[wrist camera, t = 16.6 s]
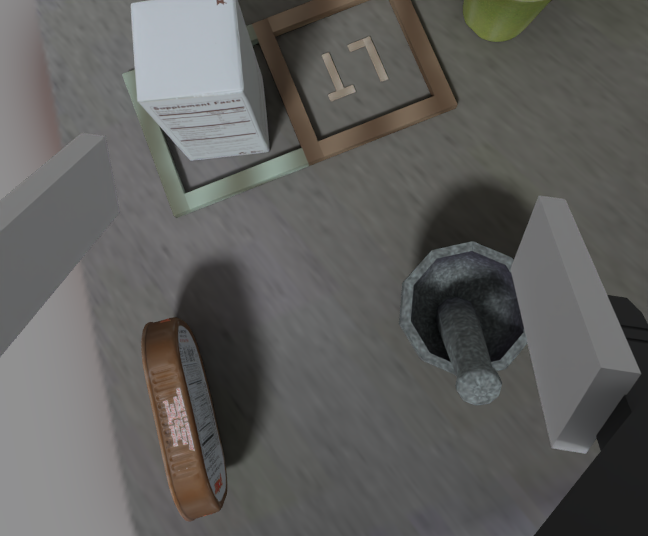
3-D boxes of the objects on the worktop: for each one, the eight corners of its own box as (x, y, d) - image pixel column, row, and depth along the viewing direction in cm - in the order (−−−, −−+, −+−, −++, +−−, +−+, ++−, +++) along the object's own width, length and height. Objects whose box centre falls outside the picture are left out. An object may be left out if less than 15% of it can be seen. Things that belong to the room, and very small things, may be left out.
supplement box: (183, 85, 48) (127, -3, 35) (264, 77, 48) (237, -15, 35) (188, 163, 47) (133, 102, 34) (271, 155, 47) (245, 90, 34)
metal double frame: (394, -27, 49) (395, -32, 48) (455, 108, 47) (457, 104, 46) (125, 78, 48) (122, 74, 47) (176, 218, 46) (173, 216, 46)
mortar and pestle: (398, 250, 45) (418, 220, 34) (508, 260, 45) (567, 233, 33) (387, 382, 44) (404, 400, 32) (500, 394, 44) (559, 416, 32)
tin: (163, 324, 45) (123, 322, 37) (199, 314, 45) (167, 311, 37) (203, 501, 44) (171, 541, 35) (240, 491, 44) (216, 529, 35)
